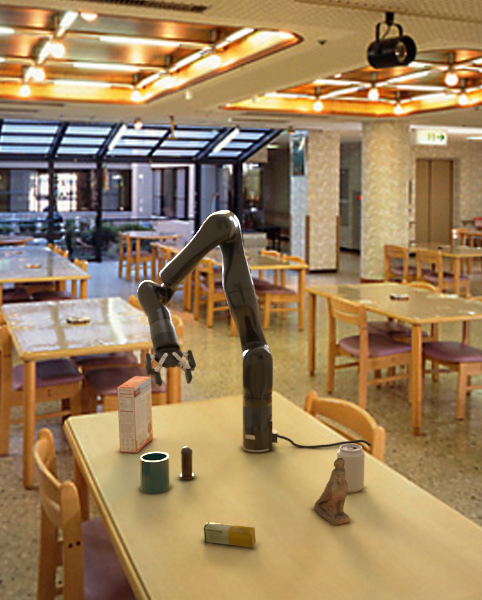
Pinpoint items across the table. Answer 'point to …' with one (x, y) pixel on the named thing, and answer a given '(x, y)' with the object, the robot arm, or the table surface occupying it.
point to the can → (353, 466)
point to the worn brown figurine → (334, 496)
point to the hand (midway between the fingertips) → (175, 383)
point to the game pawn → (186, 464)
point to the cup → (154, 472)
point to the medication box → (229, 534)
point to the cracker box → (135, 414)
